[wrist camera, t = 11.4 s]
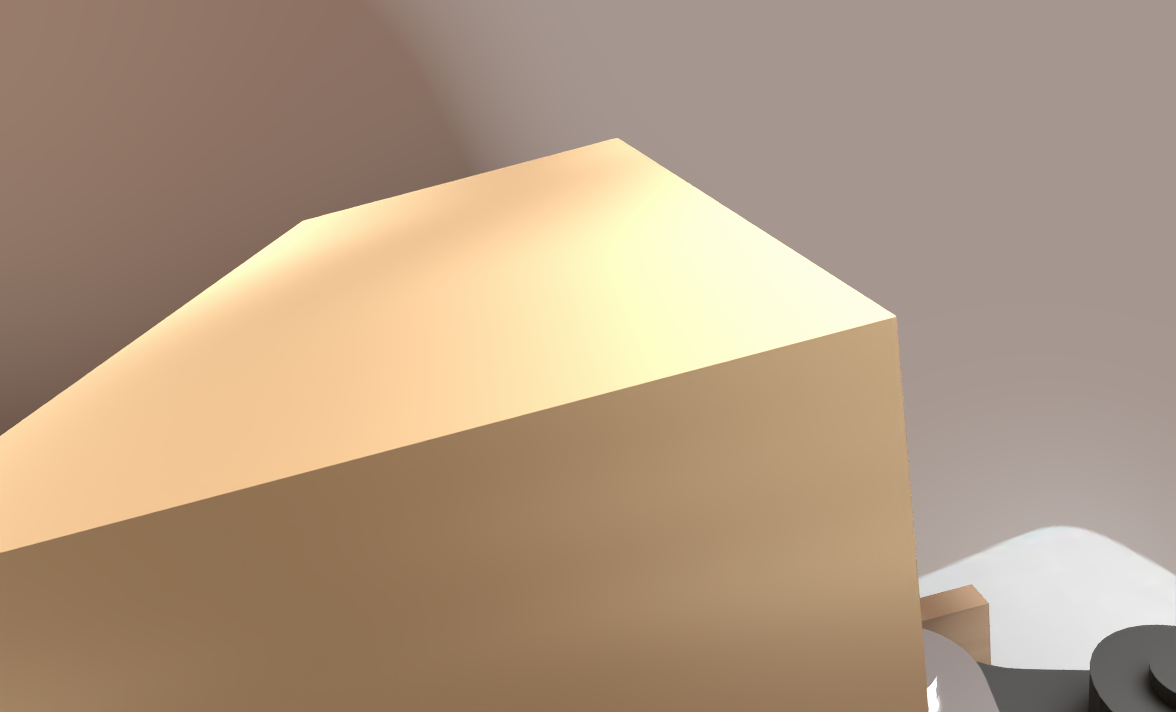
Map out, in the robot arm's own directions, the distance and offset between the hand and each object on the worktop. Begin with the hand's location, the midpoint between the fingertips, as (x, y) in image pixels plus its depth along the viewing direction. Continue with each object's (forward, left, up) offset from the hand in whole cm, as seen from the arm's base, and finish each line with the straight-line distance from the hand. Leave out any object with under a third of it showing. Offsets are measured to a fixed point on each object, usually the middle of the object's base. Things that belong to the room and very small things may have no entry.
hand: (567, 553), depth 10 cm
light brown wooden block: (0, -3, -10) cm, 10 cm away
